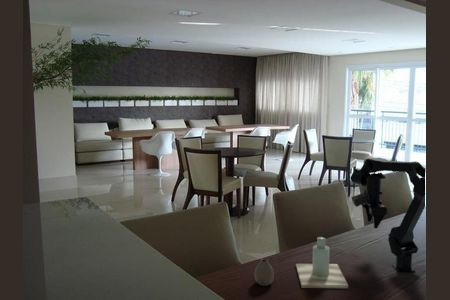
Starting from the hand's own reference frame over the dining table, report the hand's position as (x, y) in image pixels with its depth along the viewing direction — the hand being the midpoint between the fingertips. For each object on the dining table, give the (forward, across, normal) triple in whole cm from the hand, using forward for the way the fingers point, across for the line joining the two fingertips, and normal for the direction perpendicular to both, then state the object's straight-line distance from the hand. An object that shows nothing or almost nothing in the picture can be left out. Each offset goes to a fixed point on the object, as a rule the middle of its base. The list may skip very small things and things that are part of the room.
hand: (372, 224), depth 167 cm
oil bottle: (+12, +22, -25) cm, 35 cm away
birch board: (+13, +22, -25) cm, 36 cm away
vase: (+13, +28, -46) cm, 55 cm away
